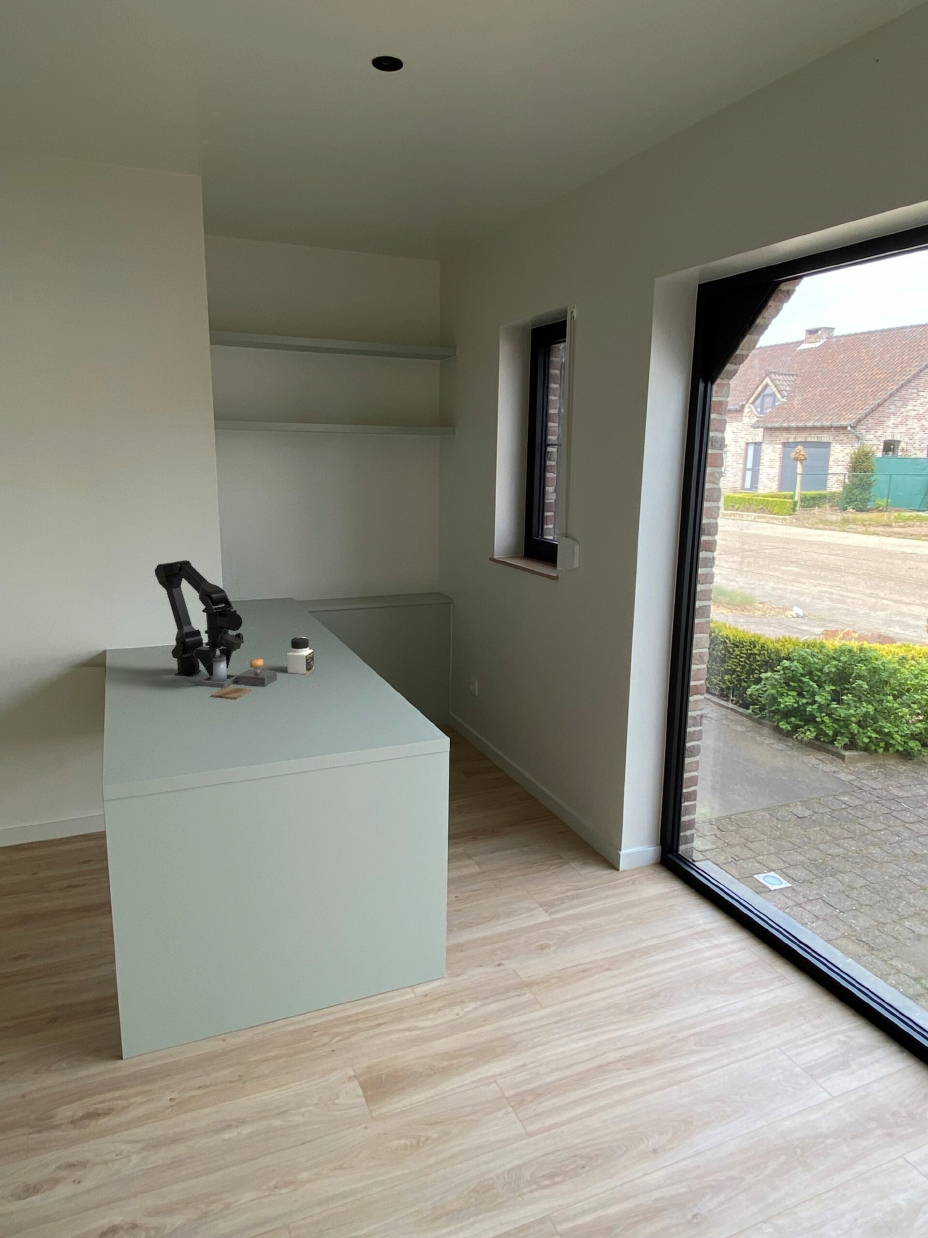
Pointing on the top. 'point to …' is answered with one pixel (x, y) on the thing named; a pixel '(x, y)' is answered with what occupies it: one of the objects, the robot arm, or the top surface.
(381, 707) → the top surface
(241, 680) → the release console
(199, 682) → the collar
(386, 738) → the top surface
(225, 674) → the cylinder
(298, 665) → the medicine bottle
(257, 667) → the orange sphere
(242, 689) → the walnut pad
